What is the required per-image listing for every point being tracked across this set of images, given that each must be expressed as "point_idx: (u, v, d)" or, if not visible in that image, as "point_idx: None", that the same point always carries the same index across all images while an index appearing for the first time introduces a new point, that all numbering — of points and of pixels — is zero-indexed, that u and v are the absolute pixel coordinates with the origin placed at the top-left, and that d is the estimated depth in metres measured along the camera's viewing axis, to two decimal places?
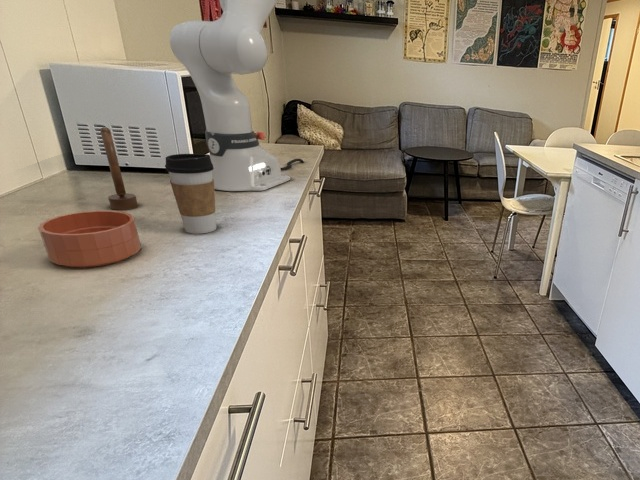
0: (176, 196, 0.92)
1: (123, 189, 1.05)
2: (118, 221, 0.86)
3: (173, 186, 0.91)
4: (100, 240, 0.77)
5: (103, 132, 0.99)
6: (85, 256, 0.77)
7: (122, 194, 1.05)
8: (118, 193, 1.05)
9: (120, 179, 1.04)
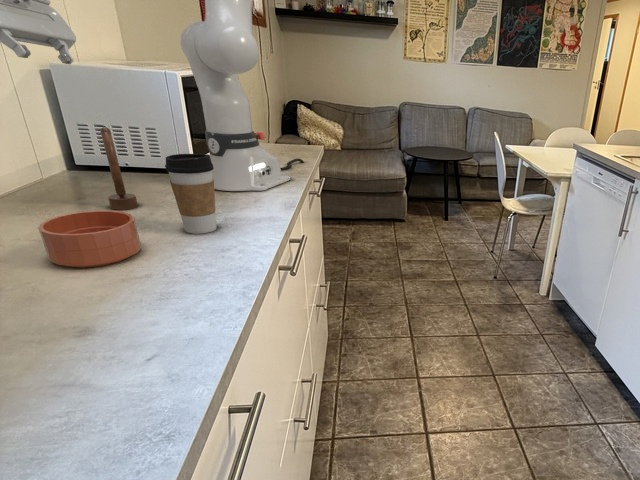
0: (176, 196, 0.92)
1: (123, 189, 1.05)
2: (118, 221, 0.86)
3: (173, 186, 0.91)
4: (100, 240, 0.77)
5: (103, 132, 0.99)
6: (85, 256, 0.77)
7: (122, 194, 1.05)
8: (118, 193, 1.05)
9: (120, 179, 1.04)
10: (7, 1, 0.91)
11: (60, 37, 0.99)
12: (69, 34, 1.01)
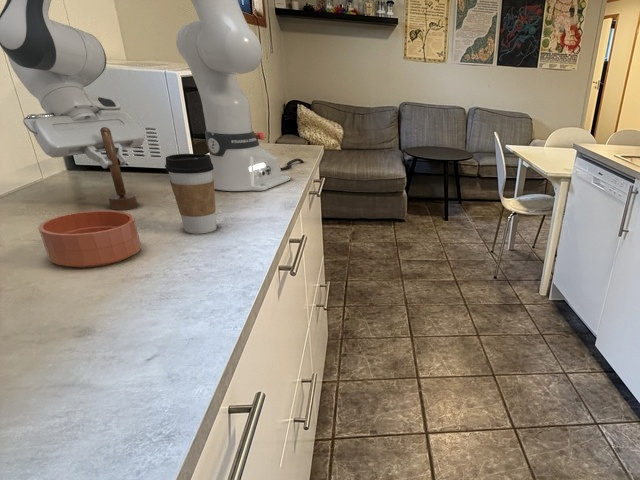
0: (176, 196, 0.92)
1: (123, 189, 1.05)
2: (118, 221, 0.86)
3: (173, 186, 0.91)
4: (100, 240, 0.77)
5: (103, 132, 0.99)
6: (85, 256, 0.77)
7: (122, 194, 1.05)
8: (118, 193, 1.05)
9: (120, 179, 1.04)
10: (78, 119, 0.99)
11: (128, 139, 1.06)
12: (137, 133, 1.08)
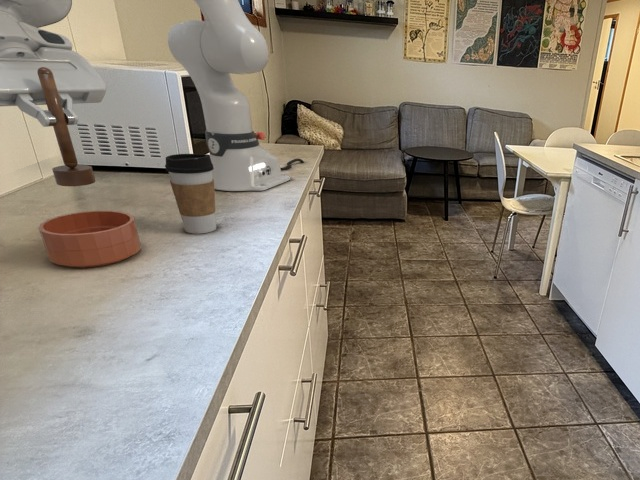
0: (176, 196, 0.92)
1: (73, 158, 0.76)
2: (118, 221, 0.86)
3: (173, 186, 0.91)
4: (100, 240, 0.77)
5: (41, 74, 0.70)
6: (85, 256, 0.77)
7: (72, 165, 0.76)
8: (66, 163, 0.76)
9: (69, 143, 0.75)
10: (7, 55, 0.70)
11: (82, 90, 0.77)
12: (96, 83, 0.79)
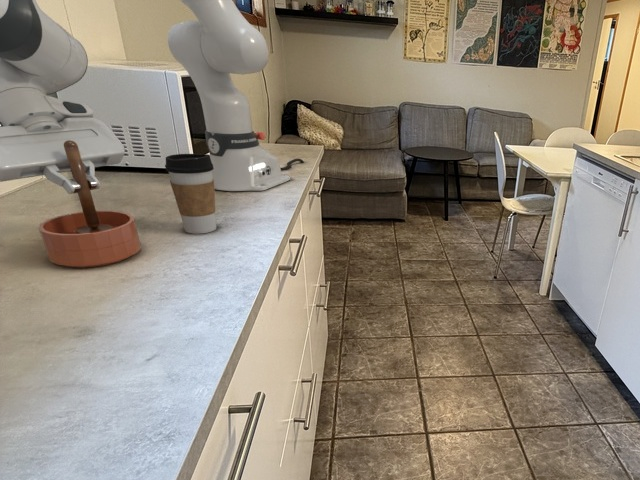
0: (176, 196, 0.92)
1: (96, 220, 0.81)
2: (118, 221, 0.86)
3: (173, 186, 0.91)
4: (100, 240, 0.77)
5: (67, 147, 0.75)
6: (85, 256, 0.77)
7: (94, 226, 0.81)
8: (89, 225, 0.81)
9: (91, 207, 0.80)
10: (35, 129, 0.75)
11: (103, 155, 0.82)
12: (115, 147, 0.84)
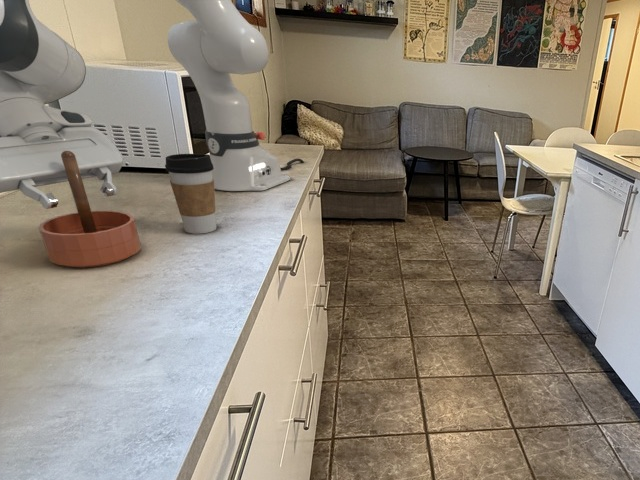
0: (176, 196, 0.92)
1: (94, 230, 0.81)
2: (118, 221, 0.86)
3: (173, 186, 0.91)
4: (100, 240, 0.77)
5: (65, 158, 0.75)
6: (85, 256, 0.77)
7: None
8: None
9: (89, 217, 0.80)
10: (33, 140, 0.75)
11: (101, 165, 0.82)
12: (114, 157, 0.84)
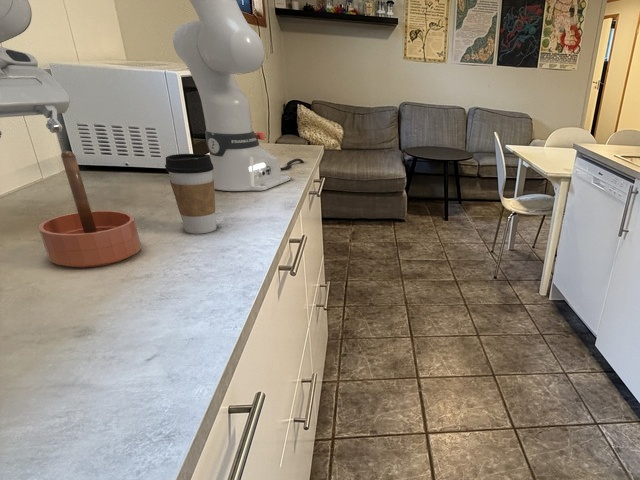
0: (176, 196, 0.92)
1: (94, 230, 0.81)
2: (118, 221, 0.86)
3: (173, 186, 0.91)
4: (100, 240, 0.77)
5: (65, 158, 0.75)
6: (85, 256, 0.77)
7: None
8: None
9: (89, 217, 0.80)
10: None
11: (46, 102, 0.86)
12: (59, 96, 0.88)
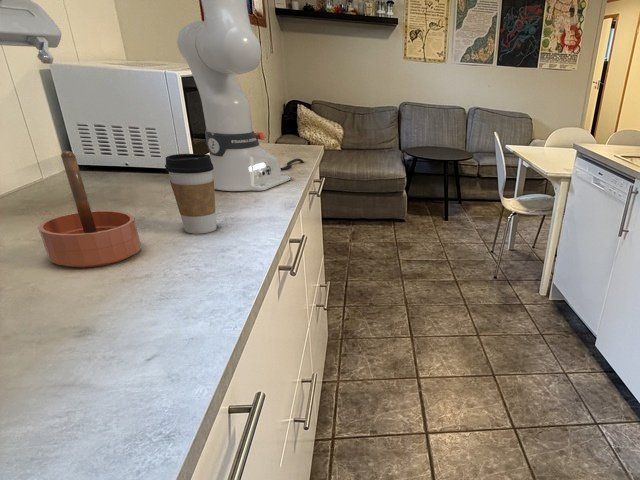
0: (176, 196, 0.92)
1: (94, 230, 0.81)
2: (118, 221, 0.86)
3: (173, 186, 0.91)
4: (100, 240, 0.77)
5: (65, 158, 0.75)
6: (85, 256, 0.77)
7: None
8: None
9: (89, 217, 0.80)
10: None
11: (38, 34, 0.88)
12: (51, 29, 0.90)
